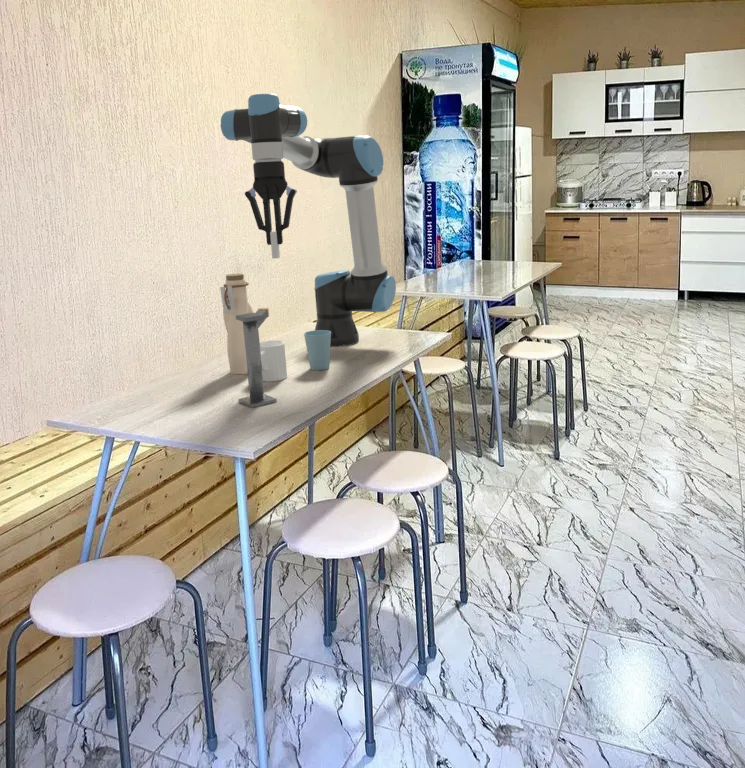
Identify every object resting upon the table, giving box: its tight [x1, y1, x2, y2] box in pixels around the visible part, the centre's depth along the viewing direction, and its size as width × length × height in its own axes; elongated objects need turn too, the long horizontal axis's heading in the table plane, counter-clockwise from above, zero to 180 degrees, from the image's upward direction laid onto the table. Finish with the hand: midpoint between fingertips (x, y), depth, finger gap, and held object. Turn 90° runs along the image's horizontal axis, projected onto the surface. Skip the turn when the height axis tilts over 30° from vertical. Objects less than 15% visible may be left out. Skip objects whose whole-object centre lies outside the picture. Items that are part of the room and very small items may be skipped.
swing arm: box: [255, 307, 270, 329], centre depth 203 cm, size 19×3×2 cm, turn 179°
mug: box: [259, 340, 288, 383], centre depth 216 cm, size 8×12×10 cm
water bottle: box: [219, 273, 255, 375], centre depth 224 cm, size 10×9×28 cm
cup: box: [303, 329, 331, 371], centre depth 226 cm, size 8×8×10 cm
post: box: [236, 312, 277, 409], centre depth 194 cm, size 7×7×22 cm
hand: (276, 257), depth 199 cm, fingers closed
